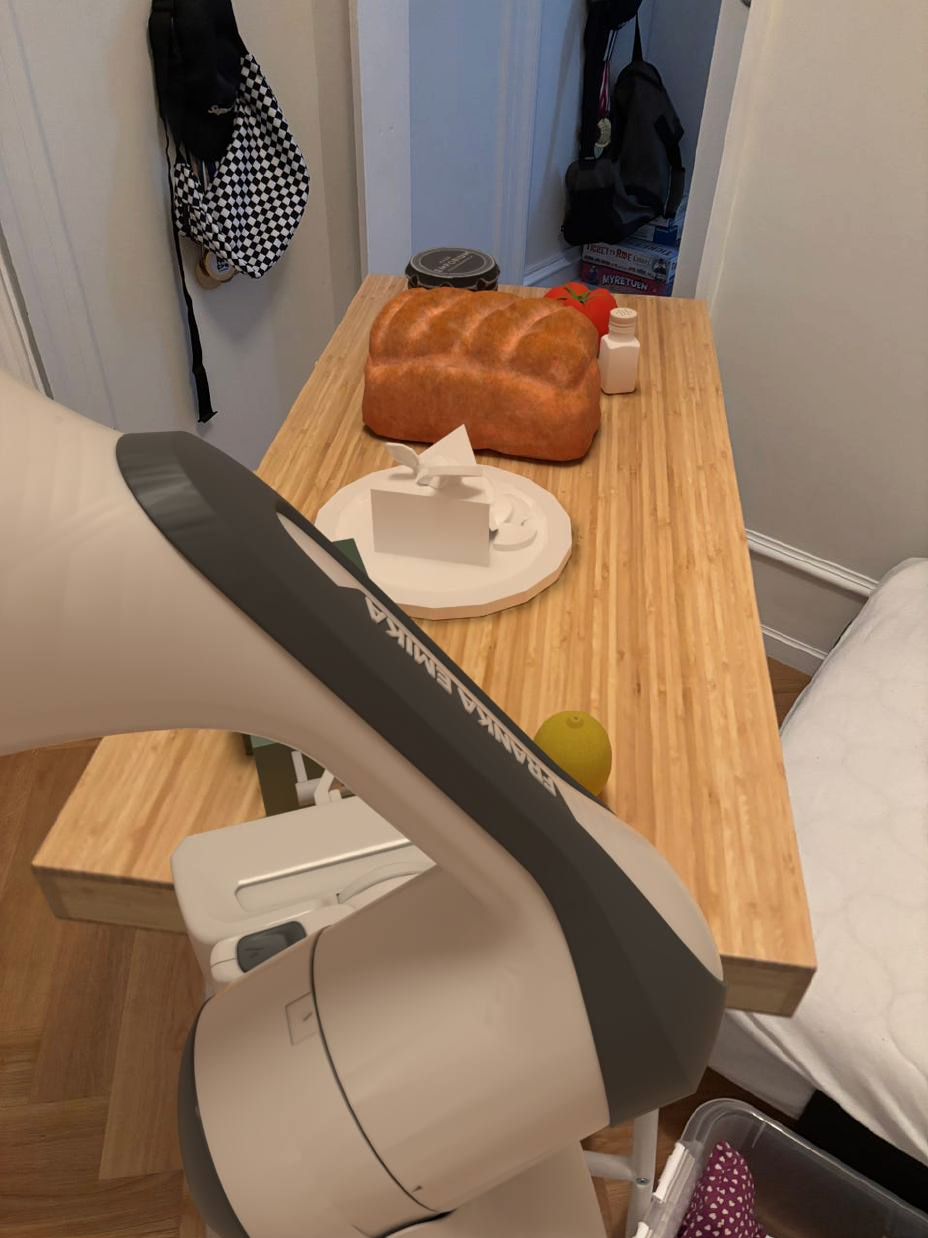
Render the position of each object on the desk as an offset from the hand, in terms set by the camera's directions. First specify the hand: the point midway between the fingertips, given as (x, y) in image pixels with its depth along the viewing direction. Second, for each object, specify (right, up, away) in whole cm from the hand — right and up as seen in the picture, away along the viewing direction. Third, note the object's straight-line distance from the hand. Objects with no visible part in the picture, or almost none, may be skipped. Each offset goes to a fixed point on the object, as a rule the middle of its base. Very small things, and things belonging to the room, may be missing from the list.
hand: (347, 750), depth 54 cm
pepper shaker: (+25, +36, +63) cm, 77 cm away
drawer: (-3, -3, +13) cm, 14 cm away
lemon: (+14, -5, +12) cm, 19 cm away
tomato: (+22, +44, +72) cm, 88 cm away
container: (+5, +47, +75) cm, 89 cm away
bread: (+9, +30, +55) cm, 63 cm away
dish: (+5, +15, +37) cm, 40 cm away
